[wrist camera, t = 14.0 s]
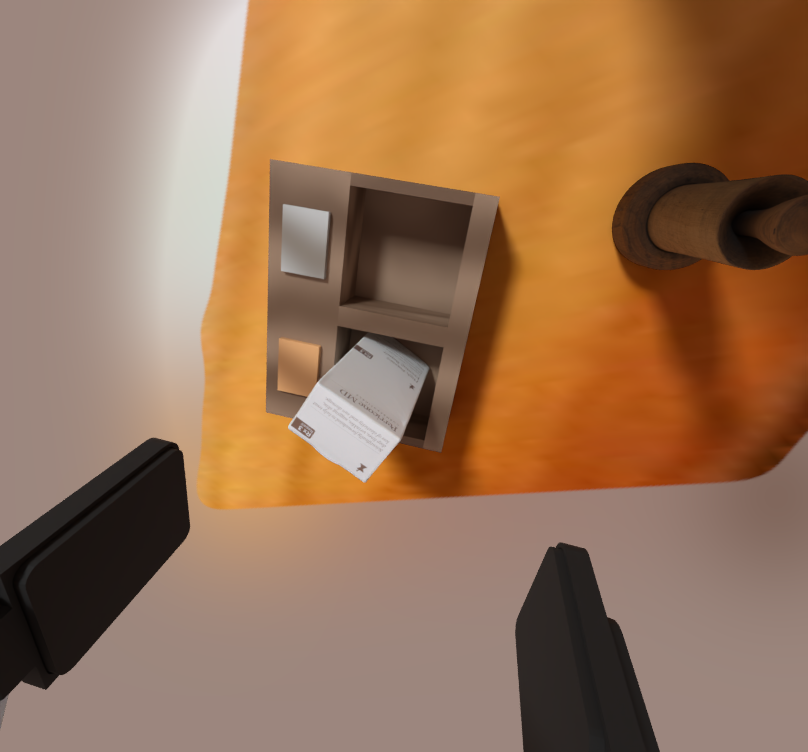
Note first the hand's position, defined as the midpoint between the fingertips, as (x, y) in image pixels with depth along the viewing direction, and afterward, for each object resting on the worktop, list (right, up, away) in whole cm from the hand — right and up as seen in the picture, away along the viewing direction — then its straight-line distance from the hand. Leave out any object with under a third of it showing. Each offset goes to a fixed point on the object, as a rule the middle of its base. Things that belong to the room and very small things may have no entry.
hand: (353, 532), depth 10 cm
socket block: (-1, +10, +24) cm, 26 cm away
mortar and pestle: (+19, +15, +18) cm, 30 cm away
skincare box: (0, +5, +25) cm, 25 cm away
